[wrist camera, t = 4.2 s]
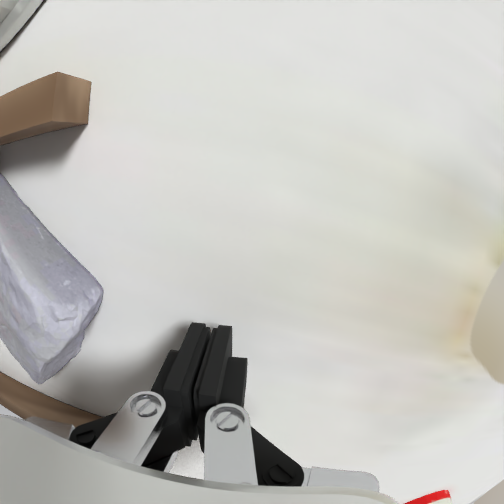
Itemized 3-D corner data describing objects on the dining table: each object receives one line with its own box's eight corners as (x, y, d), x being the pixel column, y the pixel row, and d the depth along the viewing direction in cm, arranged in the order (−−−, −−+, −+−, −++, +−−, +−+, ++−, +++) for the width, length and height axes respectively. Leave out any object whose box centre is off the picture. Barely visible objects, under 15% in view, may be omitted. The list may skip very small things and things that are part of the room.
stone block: (81, 358, 17) (122, 282, 12) (46, 402, 13) (57, 348, 8) (-12, 251, 15) (-1, 145, 11) (-52, 279, 11) (-64, 168, 6)
